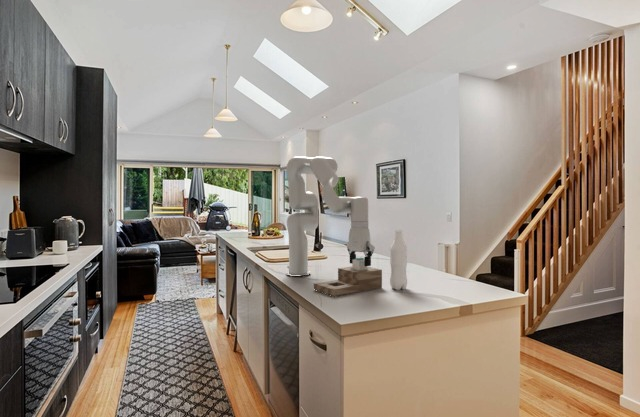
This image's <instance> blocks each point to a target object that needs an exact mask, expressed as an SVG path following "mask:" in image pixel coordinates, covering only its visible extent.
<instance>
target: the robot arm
mask: <svg viewBox="0 0 640 417" xmlns="http://www.w3.org/2000/svg"><path fill="white" fill-rule="evenodd" d="M337 170H338V163H337V161H336V160H335V159H334V158H332V157H327V156H315V157H309V156H301V155H300V156H299V155H298V156H294V157H291V158H290V159H289V160H288V162H287V164H286V170H285V172H286V178H287V184H288V186H287V187H288V203H289V208H290V209H291V210H295V211H304V212H293V213H291V214H290V215H288V217H287V218H286V227H287V231H288V232H287V233H288V265H287V267H286V268H287V269H288V271H289V274H291V275H308V274H310V273H311V271H310V270H308V266H309V263H308V262H309V261H308V260H309V258H308V256H309V254H308V253H309V252H308V250H309V249H308V248H309V247H308V237H307V235H306V232H310V231H313V230H314V231H315V230H316V229H317V228H318V227H319V222H320V221H319V220H320V218H319V216H320V215H319V199H318V196H317V195H316V194H315V193H314V192H312V191H306V183H305V180H304V177H303V176H302V174H303V175H304V174H305V175H314V176H315V178H316V179H317V181H318V182H319V183H320V185H321V186H322V189H321V190H322V191H321V193H322V200H323V201H324V203H325V205H326V207H327V208H328V209H329V210H330V211H331V212H332V213H333V214H337V215H338V214H339V215H340V214H346V215H347V214H350V227H349V234H348V243H345V244H346V245H345V246H346V248H347V251H348V255H349V264H350V265H351V264H352V260H354V259H356V258H357V254H356V252H357V253H363V255H364V257H363V258H364V266H367V267H371V266H372V257H373V254H374V252H375V246H374V245H373V244H372V242H371V235H370V234H371V233H370V229H369V200H368V198H367V197H366V196H339V195H338V194H337V193H336V191H335V189H334V188H335V187H336V186H337V185H338V183H339V180H340V179H339V176H338V175H337V173H336V172H337ZM287 274H288V273H287ZM311 274H312V273H311Z"/></svg>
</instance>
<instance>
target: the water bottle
mask: <svg viewBox="0 0 640 417" xmlns="http://www.w3.org/2000/svg"><path fill="white" fill-rule="evenodd" d="M403 237H404V236H403V230H401V229H397V230H394V239H393V242H392V243H391V245H390V249H389V253H390V254H389V255H390V256H389V257H390V262H389V263H390V279H389V283H390V287H391V289H392V290H393V289H394V290H396V291H400V290H401V289H402V290H403V291H404V290H406V288H407V286H408V278H407V265H408V247H407V244H405V241H404V238H403Z"/></svg>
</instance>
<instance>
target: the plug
mask: <svg viewBox="0 0 640 417" xmlns="http://www.w3.org/2000/svg"><path fill="white" fill-rule="evenodd" d="M367 267H368V266H364V257H356V259H354V260H352V269H354V270H358V271H361V270H367Z"/></svg>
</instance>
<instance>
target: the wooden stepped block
mask: <svg viewBox="0 0 640 417" xmlns="http://www.w3.org/2000/svg"><path fill="white" fill-rule="evenodd" d="M382 284H383V269H380V268H376V267H371V266H367V270H361V271H358V270H354V269H352V266H344V267H339V268H337V279H333V280H327V281H320V282H315V283H313V290H314V289H315V290H317V291H320V292H323V293H326V294H328V295H327V296H329V295H331V296H330V297H332V296H334V297H333V298H336V297H335V296H337V297H341V295H343V296H347V294H348V295H352V294H357V293H363V292H369V291H374V290H378V289H383V285H382ZM317 291H316V292H317ZM320 292H319V293H320ZM323 293H322V294H323ZM326 294H325V295H326Z"/></svg>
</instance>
